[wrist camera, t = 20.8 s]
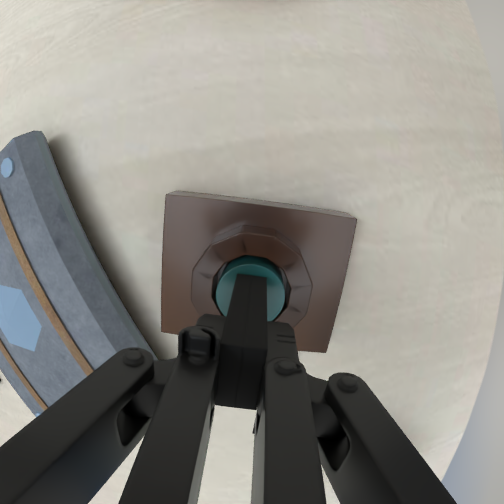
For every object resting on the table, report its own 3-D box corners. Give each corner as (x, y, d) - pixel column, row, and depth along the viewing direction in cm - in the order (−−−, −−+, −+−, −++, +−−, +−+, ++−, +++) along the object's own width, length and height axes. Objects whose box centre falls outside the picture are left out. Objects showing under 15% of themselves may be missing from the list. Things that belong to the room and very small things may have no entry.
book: (182, 374, 23) (166, 416, 18) (60, 403, 26) (38, 432, 21) (57, 132, 18) (12, 129, 14) (-38, 229, 21) (-72, 241, 16)
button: (288, 258, 17) (290, 269, 16) (278, 316, 18) (279, 330, 17) (223, 250, 17) (218, 259, 16) (217, 308, 18) (213, 322, 17)
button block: (347, 212, 19) (366, 225, 15) (321, 336, 22) (330, 369, 18) (176, 190, 19) (155, 197, 16) (169, 317, 22) (152, 346, 18)
